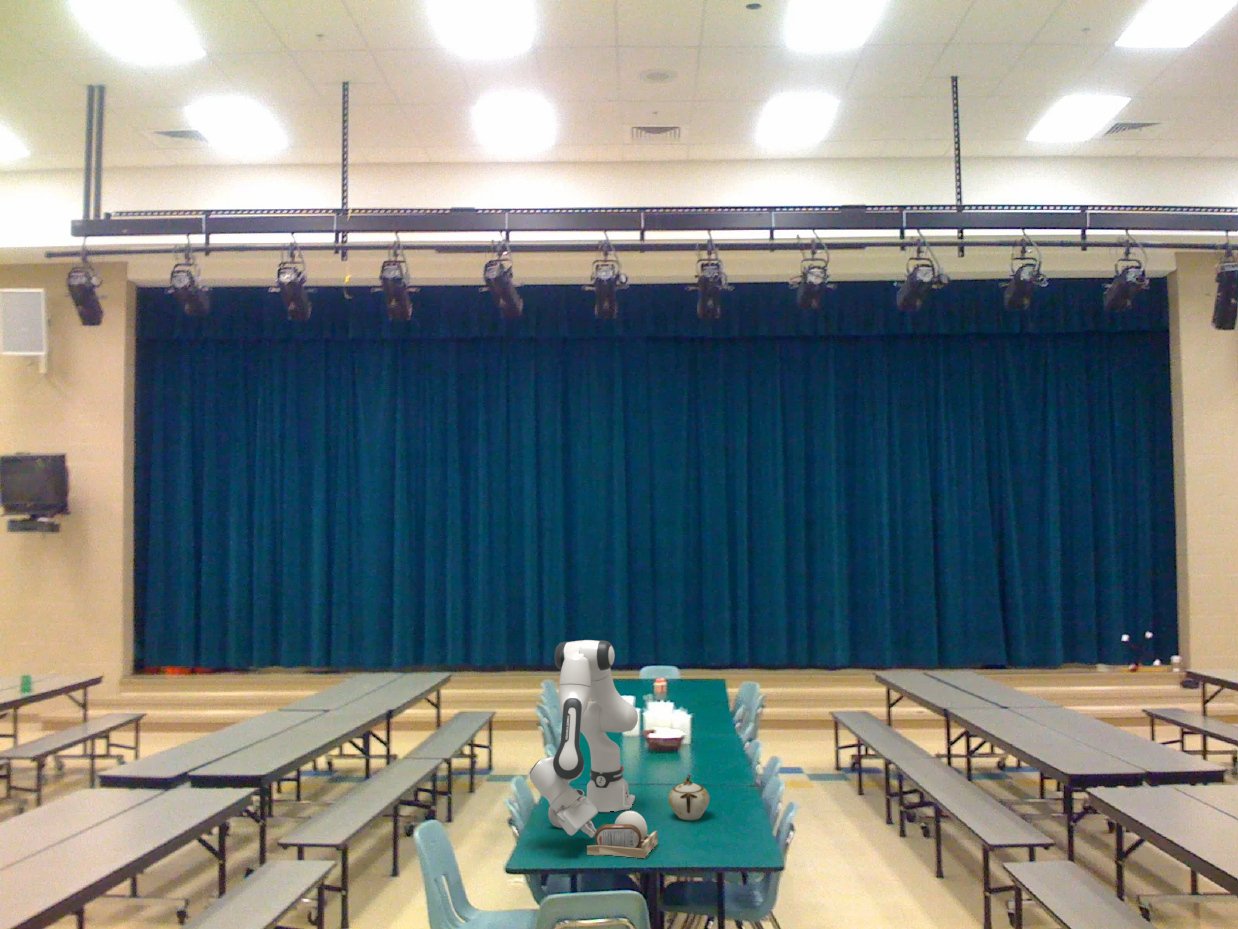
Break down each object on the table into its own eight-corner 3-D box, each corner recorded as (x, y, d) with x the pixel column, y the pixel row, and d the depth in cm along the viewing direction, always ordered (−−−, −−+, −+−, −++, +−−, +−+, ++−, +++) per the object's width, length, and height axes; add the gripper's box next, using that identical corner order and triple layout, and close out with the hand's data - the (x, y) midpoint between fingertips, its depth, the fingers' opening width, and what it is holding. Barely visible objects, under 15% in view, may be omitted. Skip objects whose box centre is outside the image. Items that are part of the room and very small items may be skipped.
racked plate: (616, 843, 316) (615, 809, 317) (647, 846, 313) (646, 812, 313) (614, 845, 315) (613, 811, 316) (646, 847, 311) (645, 813, 312)
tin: (641, 849, 310) (640, 823, 310) (641, 852, 307) (640, 826, 307) (595, 850, 310) (594, 824, 311) (595, 853, 307) (594, 827, 307)
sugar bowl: (710, 825, 332) (709, 781, 333) (667, 825, 334) (666, 782, 335) (709, 808, 352) (708, 767, 353) (669, 808, 353) (668, 767, 354)
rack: (602, 839, 320) (602, 826, 321) (657, 844, 314) (657, 830, 314) (585, 855, 305) (585, 841, 305) (643, 861, 299) (642, 846, 299)
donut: (577, 826, 335) (576, 797, 336) (575, 830, 332) (574, 800, 332) (549, 826, 336) (548, 797, 337) (547, 829, 333) (546, 800, 333)
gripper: (560, 805, 305) (589, 839, 301) (583, 788, 324) (611, 819, 320) (547, 818, 306) (576, 852, 302) (571, 800, 325) (599, 832, 321)
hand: (594, 835), depth 311 cm, fingers closed
